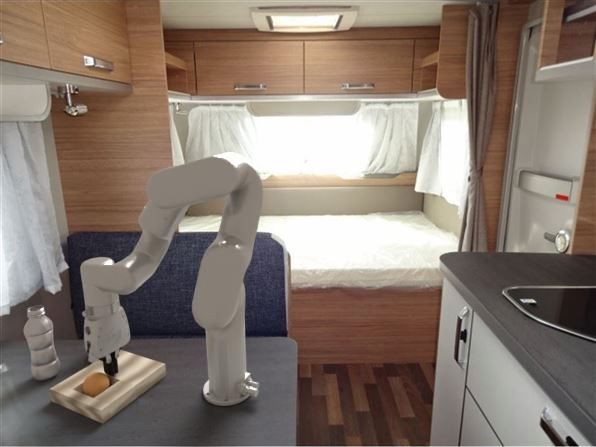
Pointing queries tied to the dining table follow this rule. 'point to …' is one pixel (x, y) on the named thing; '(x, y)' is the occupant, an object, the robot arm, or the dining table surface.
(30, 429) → the dining table surface
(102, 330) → the robot arm
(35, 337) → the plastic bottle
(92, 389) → the ball
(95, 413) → the hole board
